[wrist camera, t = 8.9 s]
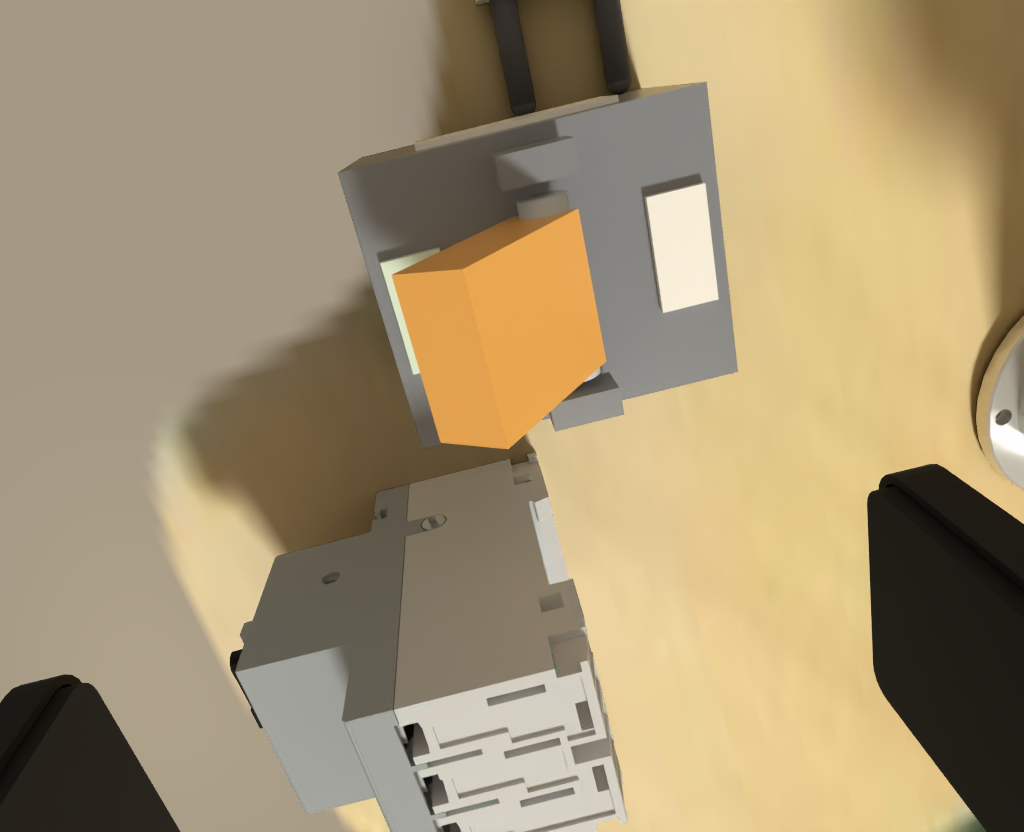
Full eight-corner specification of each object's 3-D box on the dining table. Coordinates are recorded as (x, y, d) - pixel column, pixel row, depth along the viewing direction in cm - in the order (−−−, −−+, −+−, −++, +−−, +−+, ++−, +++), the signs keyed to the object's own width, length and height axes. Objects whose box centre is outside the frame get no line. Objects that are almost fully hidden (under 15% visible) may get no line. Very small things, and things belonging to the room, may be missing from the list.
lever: (587, 185, 23) (457, 249, 18) (619, 365, 25) (512, 465, 20) (522, 195, 24) (385, 256, 19) (558, 364, 26) (444, 457, 21)
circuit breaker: (257, 522, 37) (151, 771, 23) (535, 452, 37) (596, 658, 23) (308, 638, 40) (240, 920, 26) (565, 573, 40) (635, 821, 26)
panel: (640, 83, 31) (732, 71, 21) (673, 315, 35) (763, 393, 25) (359, 152, 31) (326, 172, 21) (425, 377, 35) (421, 478, 25)
